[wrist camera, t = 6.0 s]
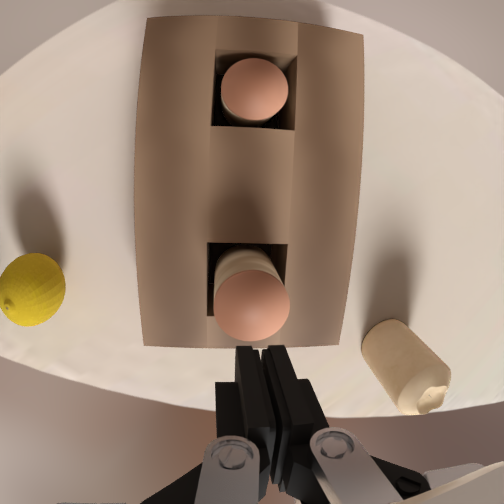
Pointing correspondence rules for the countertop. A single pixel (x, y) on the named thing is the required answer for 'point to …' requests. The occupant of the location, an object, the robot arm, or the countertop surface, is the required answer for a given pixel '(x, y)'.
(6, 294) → the lemon
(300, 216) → the block
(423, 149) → the countertop surface
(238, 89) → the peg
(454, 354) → the countertop surface
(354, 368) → the countertop surface
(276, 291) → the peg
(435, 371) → the candle
